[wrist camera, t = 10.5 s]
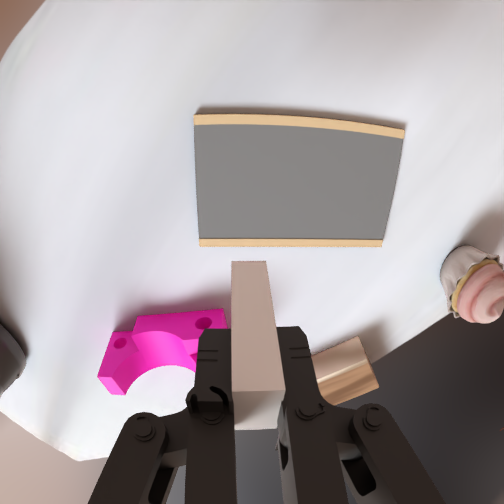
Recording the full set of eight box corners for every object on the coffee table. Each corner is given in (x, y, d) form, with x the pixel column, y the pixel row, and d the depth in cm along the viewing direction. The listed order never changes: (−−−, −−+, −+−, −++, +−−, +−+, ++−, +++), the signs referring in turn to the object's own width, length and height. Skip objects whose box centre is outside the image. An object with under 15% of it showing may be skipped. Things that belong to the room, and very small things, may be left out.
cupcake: (475, 218, 28) (527, 265, 20) (487, 265, 32) (527, 312, 24) (419, 264, 31) (462, 323, 23) (438, 304, 35) (472, 358, 27)
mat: (200, 242, 29) (199, 246, 28) (194, 114, 22) (193, 115, 22) (378, 243, 30) (381, 247, 29) (401, 128, 23) (404, 130, 23)
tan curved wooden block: (379, 387, 38) (366, 358, 34) (316, 411, 41) (293, 388, 36) (371, 366, 42) (357, 335, 37) (312, 390, 44) (289, 363, 40)
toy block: (222, 307, 33) (220, 360, 27) (232, 343, 37) (232, 393, 30) (105, 316, 34) (86, 363, 28) (124, 349, 37) (111, 394, 31)
